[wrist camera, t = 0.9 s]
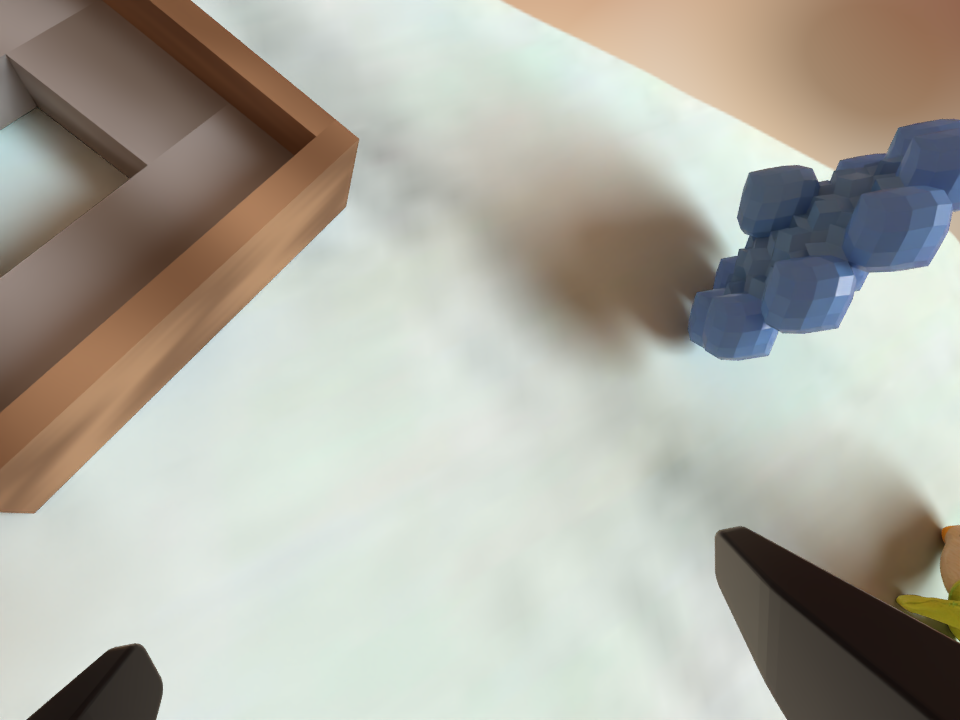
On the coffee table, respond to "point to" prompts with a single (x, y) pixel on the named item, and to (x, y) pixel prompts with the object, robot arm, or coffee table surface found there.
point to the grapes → (828, 239)
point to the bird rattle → (956, 574)
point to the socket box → (146, 215)
